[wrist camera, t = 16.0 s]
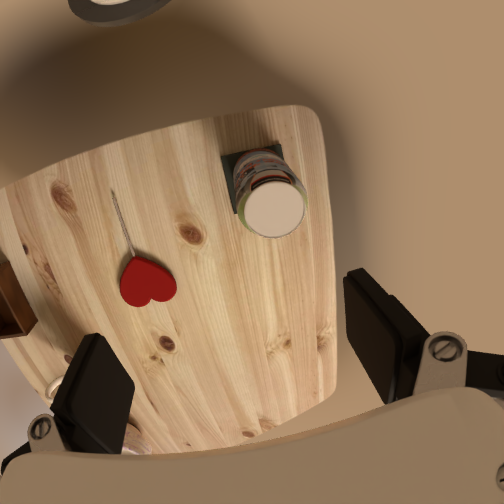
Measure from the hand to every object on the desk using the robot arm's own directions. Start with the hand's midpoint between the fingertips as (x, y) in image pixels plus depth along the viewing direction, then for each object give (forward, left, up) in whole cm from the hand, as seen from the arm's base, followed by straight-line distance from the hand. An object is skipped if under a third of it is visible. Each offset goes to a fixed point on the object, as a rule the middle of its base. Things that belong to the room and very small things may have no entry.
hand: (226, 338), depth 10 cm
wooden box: (+6, -40, -26) cm, 48 cm away
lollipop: (+4, -12, -26) cm, 29 cm away
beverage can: (-1, +5, -26) cm, 26 cm away
